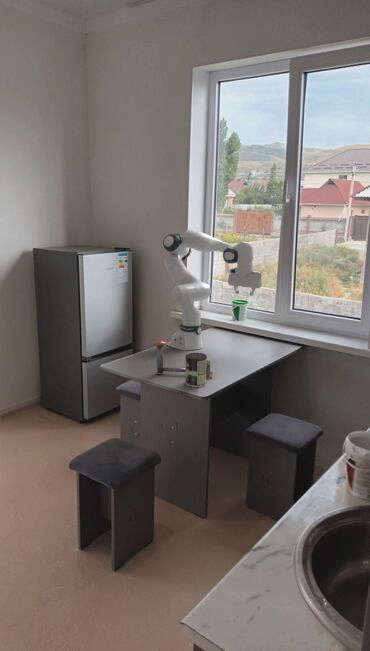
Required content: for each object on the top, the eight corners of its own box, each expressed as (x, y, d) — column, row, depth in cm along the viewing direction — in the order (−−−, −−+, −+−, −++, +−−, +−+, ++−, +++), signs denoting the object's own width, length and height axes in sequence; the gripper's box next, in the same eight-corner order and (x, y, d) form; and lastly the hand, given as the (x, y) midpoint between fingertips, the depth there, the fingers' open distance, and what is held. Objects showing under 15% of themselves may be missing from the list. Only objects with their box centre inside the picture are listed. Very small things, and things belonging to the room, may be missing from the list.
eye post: (197, 378, 249) (197, 365, 247) (199, 373, 257) (199, 360, 255) (211, 378, 248) (211, 365, 246) (212, 373, 256) (213, 360, 254)
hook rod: (152, 374, 253) (152, 343, 249) (155, 370, 259) (154, 339, 255) (195, 376, 250) (195, 344, 246) (196, 372, 256) (196, 341, 252)
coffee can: (186, 387, 237) (186, 359, 233) (184, 379, 247) (184, 352, 243) (207, 386, 238) (208, 358, 234) (205, 379, 248) (205, 352, 244)
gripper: (264, 271, 279) (263, 295, 282) (232, 268, 291) (232, 291, 294) (258, 272, 274) (257, 297, 277) (226, 269, 286) (226, 293, 289)
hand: (244, 294), depth 286 cm, fingers open, 8 cm apart
